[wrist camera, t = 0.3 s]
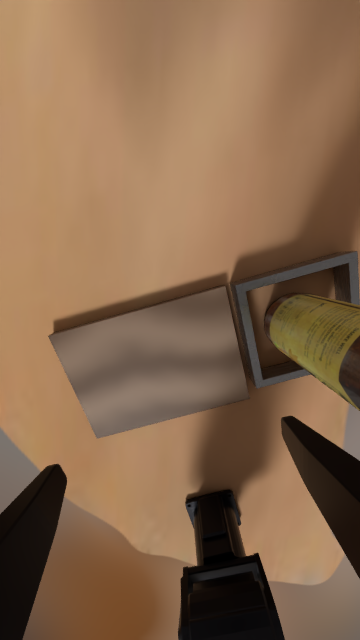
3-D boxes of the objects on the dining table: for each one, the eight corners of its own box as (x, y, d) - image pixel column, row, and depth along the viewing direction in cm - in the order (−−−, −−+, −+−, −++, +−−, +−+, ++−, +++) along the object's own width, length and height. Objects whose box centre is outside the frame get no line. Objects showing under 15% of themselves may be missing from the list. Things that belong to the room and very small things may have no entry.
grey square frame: (347, 352, 24) (362, 360, 22) (249, 378, 25) (256, 388, 23) (340, 251, 21) (357, 251, 19) (229, 283, 22) (235, 285, 20)
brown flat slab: (246, 393, 25) (249, 398, 24) (99, 431, 26) (96, 438, 25) (222, 284, 22) (225, 286, 21) (53, 332, 22) (48, 336, 21)
